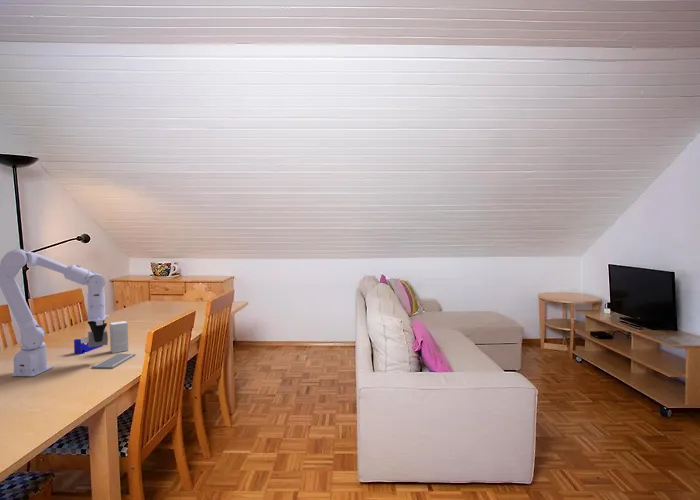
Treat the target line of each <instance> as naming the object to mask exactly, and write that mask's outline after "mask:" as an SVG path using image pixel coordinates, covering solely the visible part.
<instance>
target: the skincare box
mask: <svg viewBox="0 0 700 500" xmlns="http://www.w3.org/2000/svg"><path fill="white" fill-rule="evenodd" d="M128 323H129V322H127V321H125V320H123V321H116V322H110V323H109V340H110V341H109V344H110V346H109V347H110V352H111V353H112V354H118V353H120V352H121V353H122V352H126V351H129V326H128V325H129V324H128Z"/></svg>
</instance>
